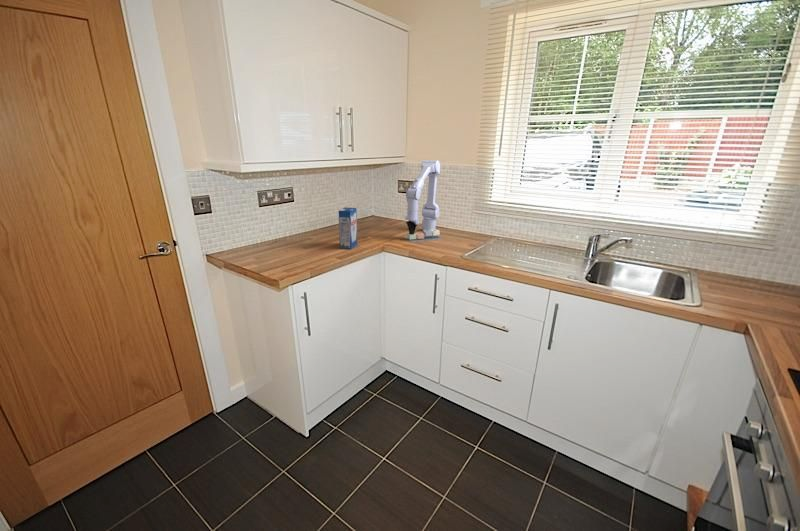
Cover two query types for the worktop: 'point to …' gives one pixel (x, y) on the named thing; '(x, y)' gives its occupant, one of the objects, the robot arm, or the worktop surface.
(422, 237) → the key
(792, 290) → the worktop surface
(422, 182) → the robot arm
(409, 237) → the key
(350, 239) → the milk carton
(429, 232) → the key
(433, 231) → the key
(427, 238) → the keypad board
